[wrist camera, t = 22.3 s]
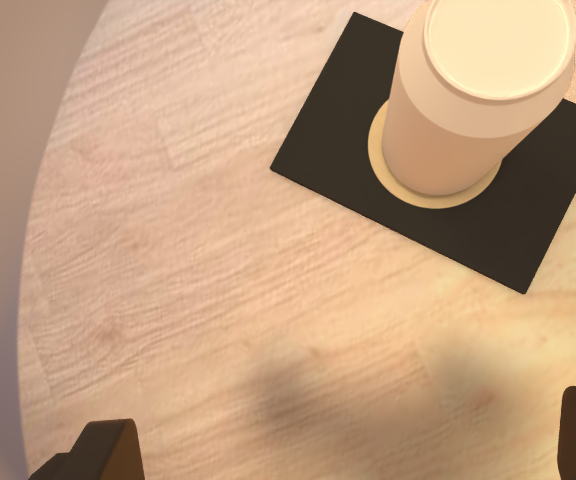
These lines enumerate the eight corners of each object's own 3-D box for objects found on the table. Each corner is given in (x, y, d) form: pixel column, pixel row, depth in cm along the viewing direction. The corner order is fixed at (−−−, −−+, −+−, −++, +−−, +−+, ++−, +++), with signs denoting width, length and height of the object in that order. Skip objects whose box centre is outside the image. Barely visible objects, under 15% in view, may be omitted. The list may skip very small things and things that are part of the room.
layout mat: (270, 169, 29) (269, 167, 29) (353, 15, 30) (353, 10, 29) (523, 294, 27) (526, 294, 26) (608, 121, 27) (613, 117, 27)
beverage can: (362, 123, 28) (373, -7, 17) (460, 78, 28) (542, -88, 16) (409, 217, 27) (455, 150, 16) (511, 171, 27) (638, 67, 15)
